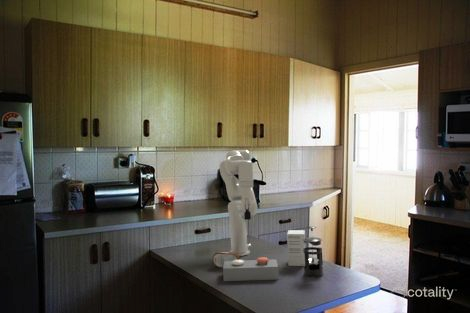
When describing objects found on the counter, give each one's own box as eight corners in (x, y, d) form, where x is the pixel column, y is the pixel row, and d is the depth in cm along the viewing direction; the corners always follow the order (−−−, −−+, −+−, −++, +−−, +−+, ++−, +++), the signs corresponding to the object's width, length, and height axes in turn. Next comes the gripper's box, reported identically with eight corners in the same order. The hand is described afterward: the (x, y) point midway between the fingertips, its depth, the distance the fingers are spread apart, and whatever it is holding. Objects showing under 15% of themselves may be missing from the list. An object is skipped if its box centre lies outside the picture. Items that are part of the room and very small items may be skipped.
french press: (314, 278, 181) (312, 229, 180) (298, 274, 188) (297, 227, 188) (329, 272, 189) (327, 225, 188) (313, 268, 196) (312, 223, 195)
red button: (257, 271, 186) (256, 260, 186) (257, 267, 192) (256, 257, 192) (269, 271, 186) (268, 260, 186) (268, 267, 191) (268, 257, 191)
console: (223, 281, 184) (223, 268, 183) (225, 272, 196) (224, 261, 195) (278, 279, 183) (278, 266, 182) (276, 271, 195) (276, 259, 194)
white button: (232, 273, 187) (232, 263, 186) (232, 270, 192) (232, 259, 192) (244, 273, 186) (243, 262, 186) (244, 269, 192) (243, 259, 192)
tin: (241, 267, 204) (240, 251, 203) (239, 269, 201) (238, 253, 200) (214, 265, 208) (213, 250, 208) (212, 267, 205) (211, 251, 205)
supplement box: (289, 260, 212) (287, 229, 211) (306, 260, 210) (305, 229, 210) (288, 265, 202) (286, 233, 202) (305, 266, 201) (304, 233, 200)
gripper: (239, 183, 211) (240, 217, 211) (238, 186, 196) (240, 222, 196) (253, 182, 210) (254, 216, 211) (253, 185, 196) (255, 221, 196)
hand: (247, 219), depth 204 cm, fingers closed
